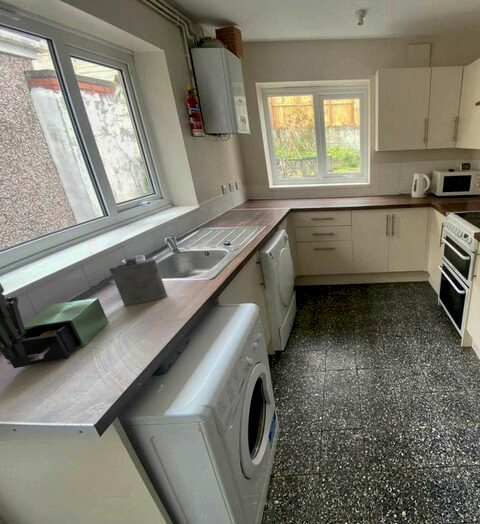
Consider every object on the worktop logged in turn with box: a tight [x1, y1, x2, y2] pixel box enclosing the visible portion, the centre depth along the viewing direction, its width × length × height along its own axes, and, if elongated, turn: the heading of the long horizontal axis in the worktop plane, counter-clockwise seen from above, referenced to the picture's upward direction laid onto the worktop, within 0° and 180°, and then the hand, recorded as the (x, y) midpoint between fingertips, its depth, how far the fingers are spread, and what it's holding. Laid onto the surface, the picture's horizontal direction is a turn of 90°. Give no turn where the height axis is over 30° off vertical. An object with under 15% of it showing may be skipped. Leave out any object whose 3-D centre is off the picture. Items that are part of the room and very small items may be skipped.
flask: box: [108, 256, 168, 307], centre depth 108 cm, size 4×14×18 cm, turn 116°
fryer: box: [23, 297, 109, 350], centre depth 89 cm, size 14×13×10 cm
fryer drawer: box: [6, 323, 80, 367], centre depth 81 cm, size 17×11×8 cm
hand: (22, 365), depth 73 cm, fingers closed
